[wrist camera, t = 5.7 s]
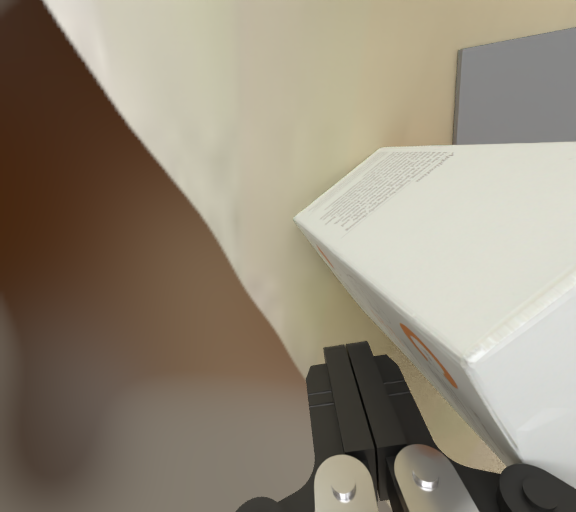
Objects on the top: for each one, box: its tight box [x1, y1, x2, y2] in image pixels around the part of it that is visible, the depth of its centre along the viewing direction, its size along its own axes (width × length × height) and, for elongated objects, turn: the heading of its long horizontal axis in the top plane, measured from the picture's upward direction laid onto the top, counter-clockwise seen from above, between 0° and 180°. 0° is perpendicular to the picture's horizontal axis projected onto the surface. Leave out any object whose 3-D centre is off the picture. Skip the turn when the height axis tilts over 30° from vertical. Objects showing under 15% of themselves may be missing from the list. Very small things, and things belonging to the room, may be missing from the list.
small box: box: [293, 141, 576, 489], centre depth 13 cm, size 8×6×13 cm
